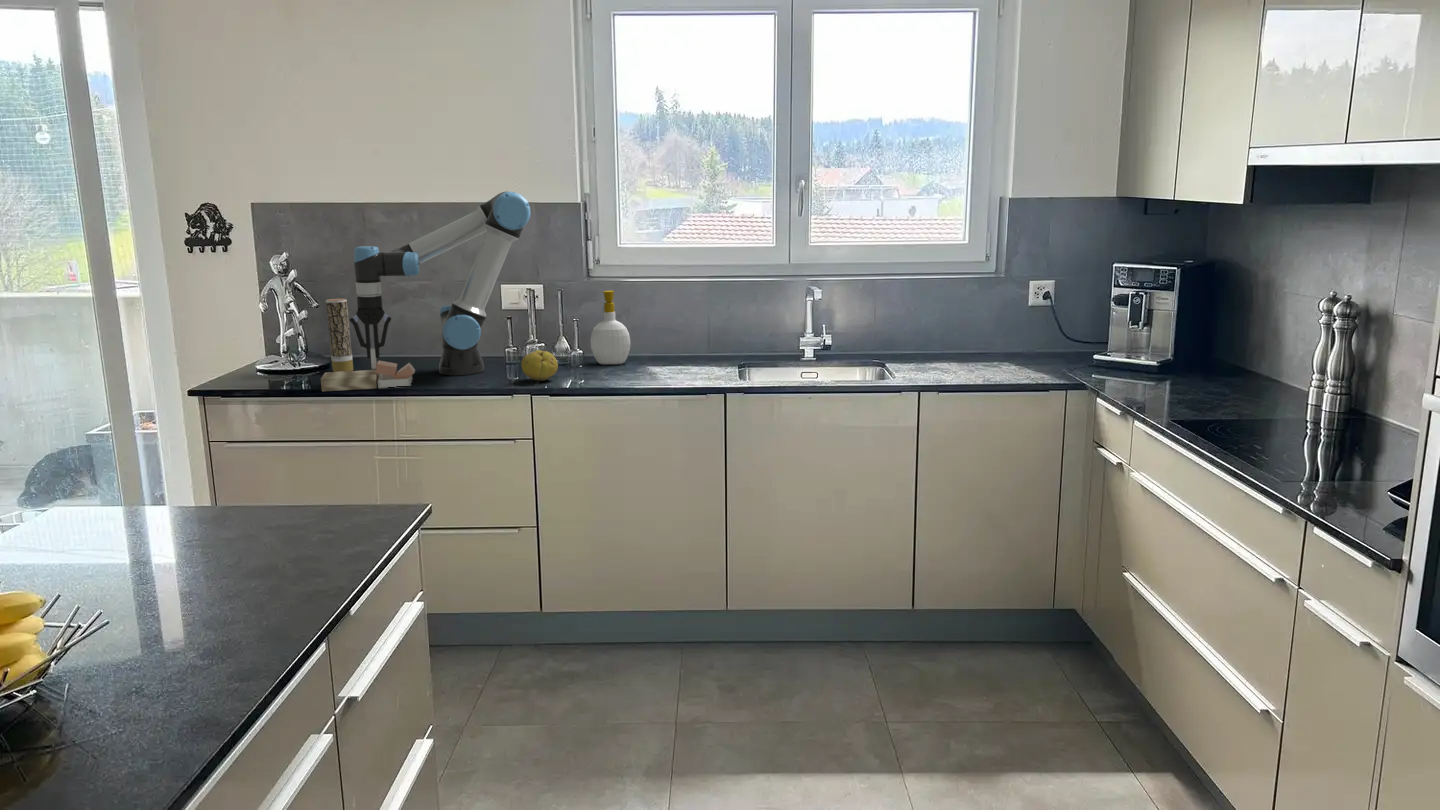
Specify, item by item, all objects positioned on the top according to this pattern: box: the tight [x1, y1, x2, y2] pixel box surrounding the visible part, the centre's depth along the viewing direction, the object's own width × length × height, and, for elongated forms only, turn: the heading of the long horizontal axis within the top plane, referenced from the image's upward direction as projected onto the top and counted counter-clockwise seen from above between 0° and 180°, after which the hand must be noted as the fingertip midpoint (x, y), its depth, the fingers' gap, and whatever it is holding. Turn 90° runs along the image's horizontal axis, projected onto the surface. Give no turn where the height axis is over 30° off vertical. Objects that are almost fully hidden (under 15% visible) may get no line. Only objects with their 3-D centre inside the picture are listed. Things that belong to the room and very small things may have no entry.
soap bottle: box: [589, 290, 631, 366], centre depth 356 cm, size 14×9×26 cm, turn 88°
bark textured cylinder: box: [325, 298, 354, 372], centre depth 346 cm, size 7×7×25 cm
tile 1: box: [375, 359, 398, 376], centre depth 326 cm, size 6×6×3 cm
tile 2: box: [394, 362, 416, 379], centre depth 328 cm, size 6×6×3 cm
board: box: [320, 369, 380, 392], centre depth 324 cm, size 16×11×4 cm, turn 104°
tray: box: [377, 374, 413, 389], centre depth 327 cm, size 10×12×2 cm
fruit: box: [520, 349, 559, 382], centre depth 329 cm, size 11×12×10 cm
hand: (374, 368), depth 325 cm, fingers closed
